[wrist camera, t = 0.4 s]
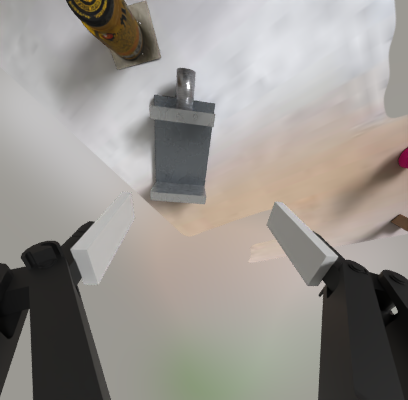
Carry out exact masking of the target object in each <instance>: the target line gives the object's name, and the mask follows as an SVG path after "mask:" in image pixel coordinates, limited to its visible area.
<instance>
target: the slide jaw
mask: <svg viewBox="0 0 408 400" xmlns="http://www.w3.org/2000/svg"><path fill="white" fill-rule="evenodd" d="M195 73H196V72H195V71H193V70H190V69H186V68H178V69H177V83H176V109H174V108H167V107H160V106H153V105H150V119H157V120H164V121H172V122H180V123H188V124H195V125H203V126H211V127H214V119H215V114H210V113H203V112H196V111H193V99H194V86H195Z"/></svg>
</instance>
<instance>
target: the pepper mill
mask: <svg viewBox="0 0 408 400" xmlns="http://www.w3.org/2000/svg"><path fill="white" fill-rule="evenodd" d="M398 162H399V165H400V166H401V167H404V168H408V148H407V149H405V150H404V151H403V153H402V154H401V156H400V157H399V161H398Z"/></svg>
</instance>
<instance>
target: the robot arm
mask: <svg viewBox="0 0 408 400" xmlns="http://www.w3.org/2000/svg"><path fill="white" fill-rule="evenodd" d="M134 219H135V216H134V208H133V199H132V193H131V192H122V193H121V194H120V195H119V196H118V197H117V198H116V199H115V200H114V202H113V203H112V204H111V205H110V206H109V207H108V208H107V209H106V211H105V212H104V213H103V214H102V215H101V216H100V217H99V218H98V219H97V220H96V222H92V221H89V222H87V223H86V224H84V225H82V226H81V227H80V228H79V229H78V230H77V231H76V232H75V233H74V234H73V235H72V237H70V238H69V239H68V240H67V241H66V242H65V243H64V244H63V245H62V246H60V244H59V243H58V242H56V241H45V242H41V243H38V244H36V245H33V246H31V247H30V248H28V249H27V250H26V251H25V252H23V253H22V256H21V259H22V260H23V262H24V264H25V265H26V267H21V268H17V269H12V270H10V268H9V267H8V266H7V265H6V264H1V263H0V395H1V392H2V389H3V386H4V383H5V380H6V377H7V374H8V371H9V368H10V364H11V361H12V358H13V355H14V352H15V349H16V346H17V343H18V340H19V337H20V334H21V331H22V328H23V325H24V321H25V319H26V316H27V313H28V310H29V309H30V323H31V324H30V327H31V353H32V378H33V400H111V398H110V395H109V391H108V388H107V384H106V381H105V378H104V374H103V371H102V367H101V364H100V360H99V357H98V354H97V350H96V347H95V343H94V340H93V336H92V333H91V330H90V326H89V323H88V320H87V316H86V312H85V309H84V306H83V302H82V299H81V295H80V292H79V289H78V286H77V284H78V283H79V281H80V280H81V278H82V280H83V283H84V284H85V285H98V284H99V282H100V281H101V279H102V277H103V275H104V273H105V272H106V270H107V268H108V266H109V264H110V263H111V261H112V259H113V257H114V255H115V253H116V252H117V250H118V248H119V246H120V244H121V243H122V241H123V239H124V237H125V235H126V234H127V231H128V230H129V228H130V226H131V224H132V223H133V221H134ZM267 226H268V228H269V229H270V231H271V232H272V234H273V235H274V237H275V238H276V240H277V241H278V243H279V244H280V246H281V247H282V249H283V250H284V252H285V253H286V255H287V256H288V258H289V259H290V261H291V262H292V264H293V265H294V267H295V268H296V269H297V271H298V272H299V274H300V275H301V277H302V278H303V280H304V281H305V283H306V284H307V286H318V285H319V284H320V282H321V281H322V280H323V281H324V283H325V284H326V285H325V287H324V288H323V289H322V291H321V292H320V294H319V296H321V295H322V294H323V311H322V333H321V354H320V374H319V394H318V400H408V280H407V279H406V278H405V277H404V276H402V275H400V274H398V273H396V272H393V271H390V270H383V271H382V272H381V273H380V274H379V275H378V274H374V273H370V272H369V271H368V270H367V269H366V268H364V267H363V266H361V265H360V264H358V263H356V262H354V261H351V260H345V259H344V258H343V257H342V256H341V255H340V254H339V253H338V252H337V251H336V250H335V249H334V248H333V247H331V246H330V245H329V244H328V243H327V242H326V241H325V240H324V239H323V238H322V237H321V236H320V235H318V234H317V233H315V232H314V231H312V230H311V229H310V228H309V227H308V226H306V225H305V224H304V223H303V222H302V221H301V220H300V219H299V218H298V217H297V216H296V215H295V214H294V213H293V212H292V211H291V210H290V209H289V208H288V207H287V206H286V205H285V204H284V203H283V202H275V203H274V206H273V209H272V212H271V214H270V217H269V220H268V223H267ZM395 306H396V308H397V310H398V313H397V314H395V315H394V314H393V313H392V311H391V309H392V308H393V307H395Z"/></svg>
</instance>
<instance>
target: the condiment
mask: <svg viewBox="0 0 408 400" xmlns="http://www.w3.org/2000/svg"><path fill="white" fill-rule="evenodd" d="M66 1H67V3H68V5H69V7H70V8H71V10H72V11H73V12H74V14H75V15H76V16H77V17H78V18H79V19H80V20H81V21H82V23H83V25H84V26H85V27H86V28H87V29H88V30H89V31H90V33H92V34H93V35H94V36H95V37H96V38H97V39H98V40H100V41H101V42H102V43H103V44H104V45H106V46H107V47H108V48H109V49H110V51H111V54H112V56H113V59H114V62H115V65H116V67H117V70H118V69H122V68H126V67H129V66H134V65H137V64H141V63H144V62H148V61H152V60H155V59H159V58H161V55H160V51H159V47H158V43H157V39H156V36H155V32H154V28H153V24H152V21H151V17H150V13H149V9H148V6H147V2H146V1H143V2H140V3H136V4H133V5H129V6H127V4H126V3H125V1H124V0H66ZM137 21H138V22H137ZM139 22H140V23H141V24H140V23H139ZM142 53H143V54H142Z"/></svg>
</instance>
